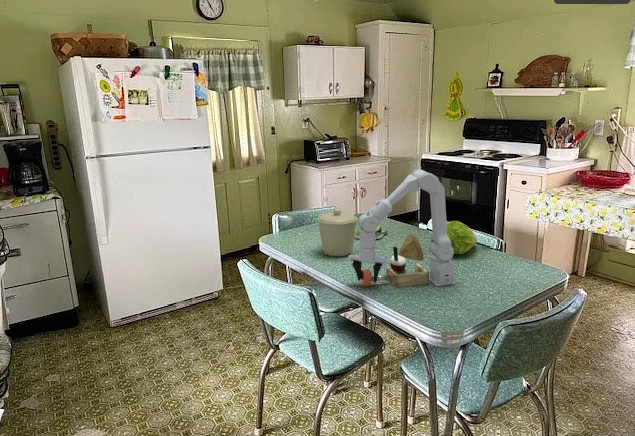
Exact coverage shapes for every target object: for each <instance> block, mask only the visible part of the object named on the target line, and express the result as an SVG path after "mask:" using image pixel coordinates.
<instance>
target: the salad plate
mask: <svg viewBox="0 0 635 436" xmlns="http://www.w3.org/2000/svg"><path fill="white" fill-rule="evenodd" d="M388 232H389V231H387V230H386V231H385V230H383V229H382V227H381V225H380V224H378V227H377V229H376V230H375V241H376V240H379V239H381V238H383V237H384V235H386V234H387V233H388ZM358 236H359V237H358ZM354 240H359V241H360V227H359V228H355V235H354Z"/></svg>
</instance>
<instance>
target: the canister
mask: <svg viewBox="0 0 635 436" xmlns="http://www.w3.org/2000/svg"><path fill="white" fill-rule="evenodd" d="M316 220H317V222H318V225H319V226H318V227H319V234H320V242H321V243H320V244H321V248H322V251H323V252H324V254H325V255H327V256H330V257H345V256H349V255H351V252H352V251H353V248H354V241H355V238H354V235H355V229H356V224H357V222H358V217H357V216H355V215H354V214H352V213H350V212H343V211H342V210H341V208H334V209H333V210H332V211H331V212H325V213H323V214H321V215H320V216H318V217H317V218H316Z"/></svg>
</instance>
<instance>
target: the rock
mask: <svg viewBox="0 0 635 436" xmlns="http://www.w3.org/2000/svg"><path fill="white" fill-rule="evenodd" d="M398 255H399V256H402V257H404V258H408V259H413V260H414V259H415V260H419V261H420V260H424V252H423V248H422V246H421V243H420V242H419V240H418V239H417V238H416V236H415V235H414V234H412V233H409V234H408V236H407V237H406V239H404V242H403V243H402V246H401V247H400V250H399V251H398Z"/></svg>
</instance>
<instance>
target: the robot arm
mask: <svg viewBox="0 0 635 436" xmlns="http://www.w3.org/2000/svg"><path fill="white" fill-rule="evenodd" d="M420 189H421V190H423V191H425V192H427V193H428V194H429V199H430V201H429V202H430V212H431V214H430V215H431V227H432V233H431V235H430V241H429V244H428V250H429V251H430V253H431V256H430V268H429V269H430V271H429V282H431V283H432V284H433V285H435V286H436V287H439V286H440V287H441V286H449V285H455V284H456V281H454V278H455V267H454V266H453V264H452V261H451V259H453V256H454V255H455V254H454V250H453V248H452V246H451V241H450V239H449V237H448V235H447V210H446V209H447V208H446V206H447V205H446V193H445V192H446V191H445V190H446V189H445V187H444V186H443V183H441V181H440V180H439V179H438V177H437V176H436V175H434V174H433V173H430V172H427V171H425V170H423V169H420V168H419V169H417V168H416V169H415V170H413V171H412V172H411V173H410V174H409V175H407V176H406V178H404V181H402V182H401V183H400V184H399V185H398V186H397V187H396V189H394V191H392V192H391V193H390V194H389V196H387V198H384V199H383V198H382V199H381V198H380V200H376V201H375V204H374V205H373V206H372V207H371V208H370V209H368V210H366V212H365V213H363V214H362V215H360V217H359V218H358V220H357V224H358V226H359V228H360V235H359V238H360V240H359V254H348V255H347V256H348V257H347V258H348V259H347V261H348V262H352V263H351V265H352V267H353V269H354V271H355V274H356V277H357V281H360V282H361V270H362V266H363V265H362V263H367V264H368V263H369V264H373V267H372V268H373V276H374V281H373V283H376V282H378V281H377V277H378V276H379V273H380V271H381V269H382V267H383V266H387V265H388V258H384V257H381V256H376V240H375V230H376V229H377V227H378V225H379V224H380V222H382V221H383V220H384V219H385V218H386V217H387V216H388V215H389V214H390V213H392V212H393V206H394V205H396V203H398V202H399V201H400V200H402V198H404V197H405V196H407V194H409V193H411V192H419V191H420Z"/></svg>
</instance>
